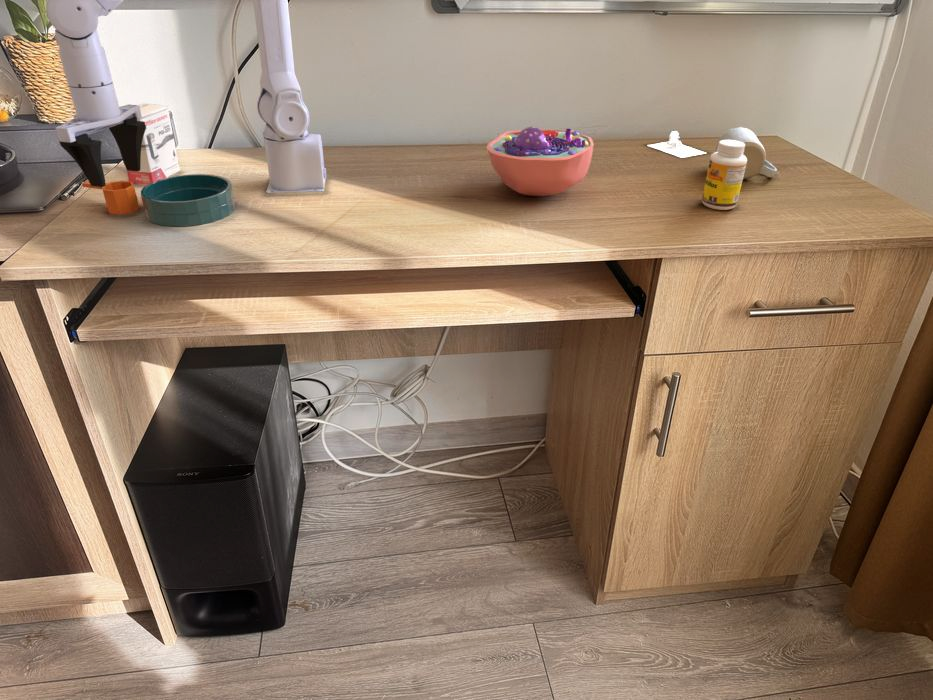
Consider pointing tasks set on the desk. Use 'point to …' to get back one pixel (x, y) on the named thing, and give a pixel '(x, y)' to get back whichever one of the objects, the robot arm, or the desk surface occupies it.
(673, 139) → the adhesive hook
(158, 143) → the ink box
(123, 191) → the scoop
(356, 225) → the desk surface
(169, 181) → the bowl
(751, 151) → the ceramic mug
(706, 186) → the supplement bottle
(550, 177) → the cell model
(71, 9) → the robot arm
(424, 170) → the desk surface
